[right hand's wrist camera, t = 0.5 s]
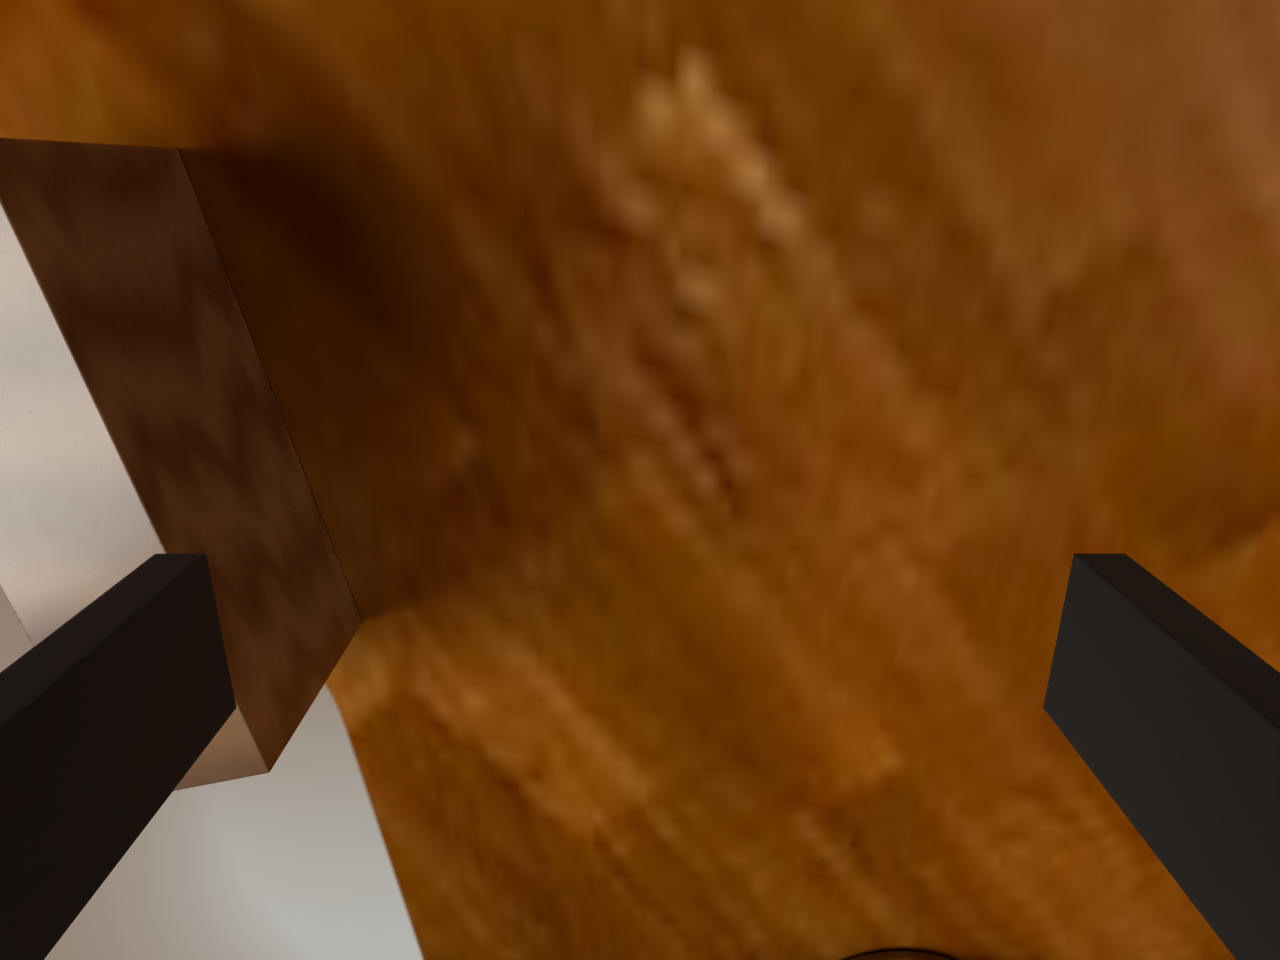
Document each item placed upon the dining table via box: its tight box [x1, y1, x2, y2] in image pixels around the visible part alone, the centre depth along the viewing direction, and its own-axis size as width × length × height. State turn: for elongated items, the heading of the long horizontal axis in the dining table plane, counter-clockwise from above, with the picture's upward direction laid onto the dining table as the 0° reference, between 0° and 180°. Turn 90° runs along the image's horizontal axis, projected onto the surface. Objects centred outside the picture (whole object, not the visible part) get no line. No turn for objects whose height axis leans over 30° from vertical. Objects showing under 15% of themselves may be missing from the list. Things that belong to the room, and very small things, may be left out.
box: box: [0, 138, 362, 791], centre depth 34 cm, size 24×6×12 cm, turn 13°
